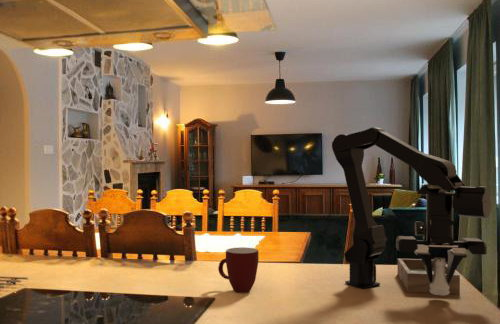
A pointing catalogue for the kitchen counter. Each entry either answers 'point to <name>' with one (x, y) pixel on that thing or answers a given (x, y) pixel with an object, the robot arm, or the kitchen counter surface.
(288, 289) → the kitchen counter surface
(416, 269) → the bore tray
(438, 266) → the rook chess piece
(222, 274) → the mug
